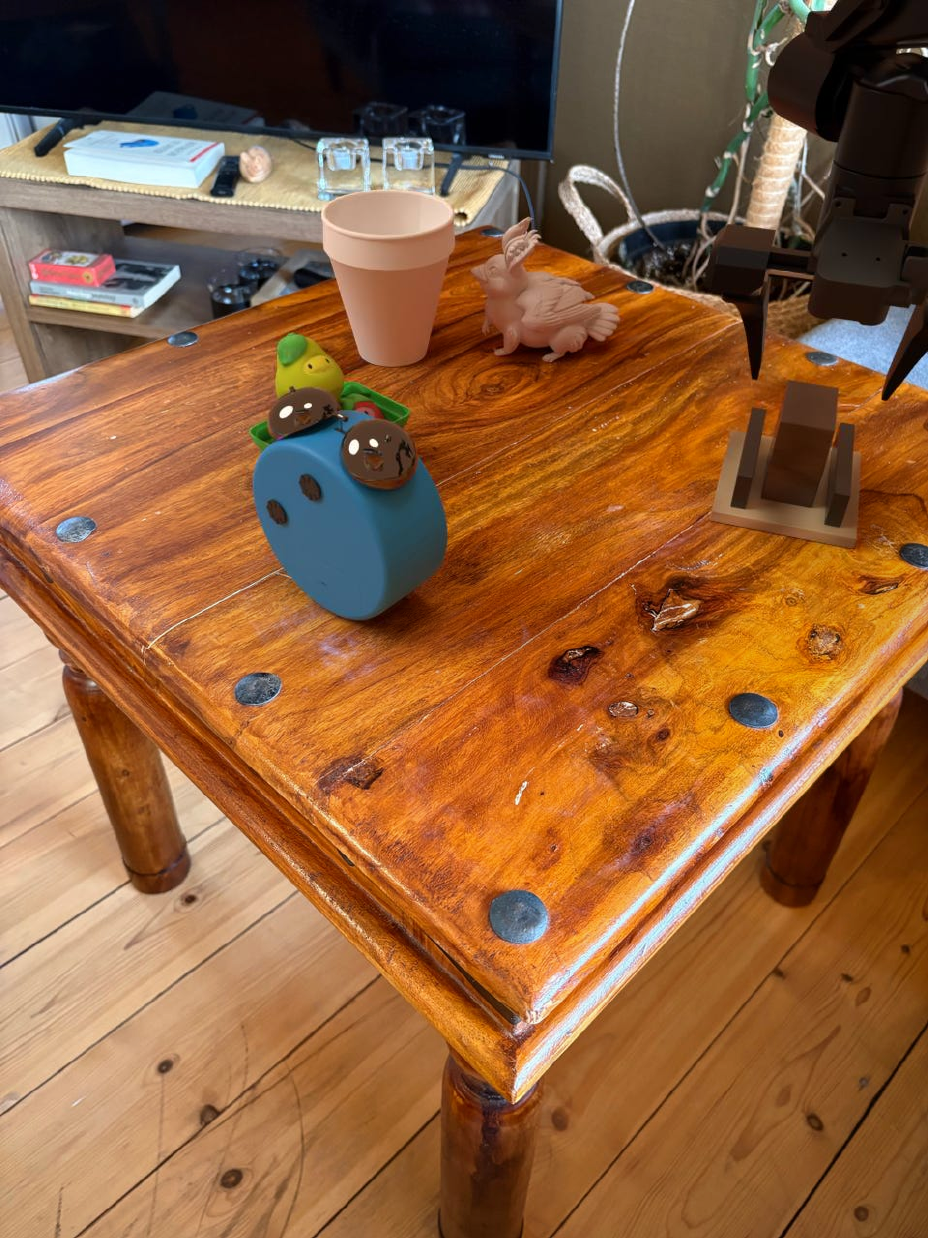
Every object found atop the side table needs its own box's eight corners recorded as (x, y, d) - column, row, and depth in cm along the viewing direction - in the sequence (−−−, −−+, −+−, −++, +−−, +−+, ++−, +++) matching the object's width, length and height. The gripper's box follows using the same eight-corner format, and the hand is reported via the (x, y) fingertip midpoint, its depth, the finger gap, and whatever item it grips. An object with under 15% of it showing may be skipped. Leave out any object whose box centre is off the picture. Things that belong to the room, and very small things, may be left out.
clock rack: (858, 462, 85) (871, 421, 82) (853, 549, 76) (868, 506, 73) (729, 439, 88) (738, 398, 85) (709, 520, 78) (718, 478, 76)
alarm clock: (450, 612, 70) (452, 424, 60) (389, 657, 66) (380, 466, 56) (322, 537, 76) (304, 356, 66) (260, 575, 72) (231, 390, 62)
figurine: (463, 333, 102) (466, 207, 94) (604, 324, 104) (618, 201, 96) (477, 370, 96) (481, 240, 88) (626, 360, 98) (643, 232, 90)
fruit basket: (313, 521, 77) (299, 391, 70) (242, 477, 82) (222, 350, 74) (416, 464, 84) (414, 339, 76) (345, 426, 88) (336, 304, 81)
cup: (306, 360, 97) (292, 218, 88) (375, 313, 105) (369, 179, 96) (412, 392, 93) (409, 246, 84) (476, 341, 101) (479, 203, 92)
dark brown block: (818, 463, 83) (841, 387, 78) (813, 508, 78) (837, 431, 73) (768, 454, 84) (787, 379, 79) (760, 498, 79) (780, 421, 74)
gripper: (714, 186, 59) (674, 418, 69) (1054, 226, 55) (957, 467, 65) (736, 135, 67) (697, 350, 77) (1035, 166, 63) (951, 389, 73)
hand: (818, 387), depth 73 cm, fingers open, 9 cm apart
